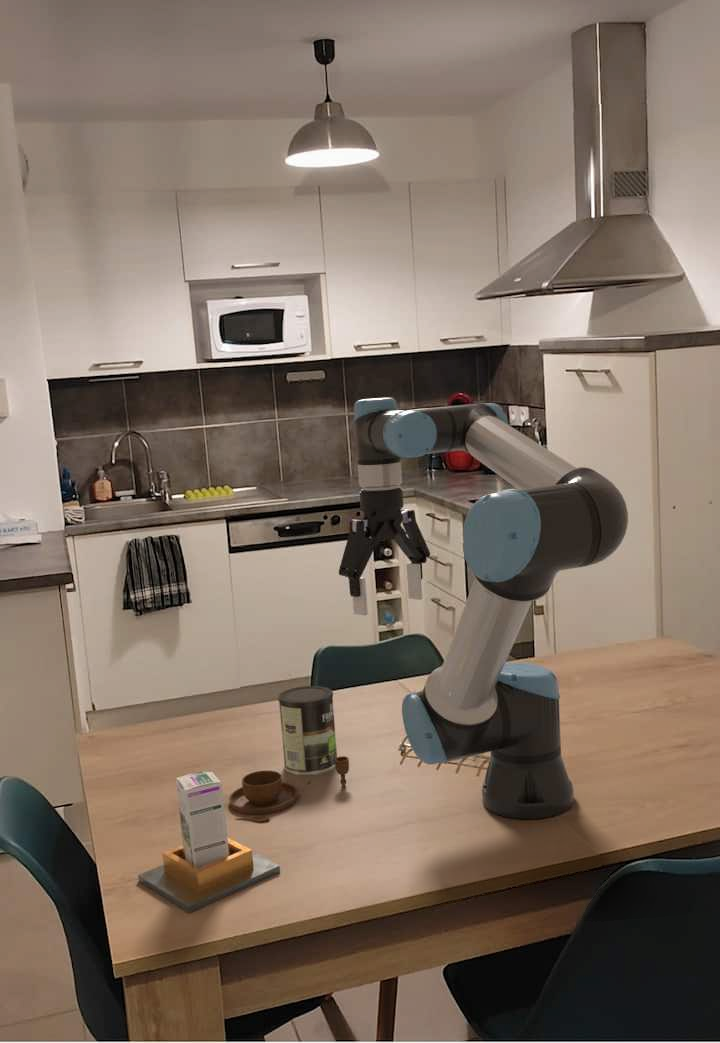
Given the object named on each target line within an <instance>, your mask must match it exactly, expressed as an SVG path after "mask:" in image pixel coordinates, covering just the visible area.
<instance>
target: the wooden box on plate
mask: <svg viewBox="0 0 720 1043" xmlns="http://www.w3.org/2000/svg"><path fill="white" fill-rule="evenodd" d="M227 838H228V847H229V856H228V857H225V858H223V859H221V860H218V861H216V862H214V863H211V864H209V865H207V866H204V867H202V868H200V869H199V868H198V867H196V866H194V865H192V864H191V863H189V862H187V861H185V856H184V847H183V844H182V845H179V846H177V847H174V848H172V849H169V850H166V851H164V852H162V854H161V855H162V862H163V864H161V865H159V866H156V867H154V868H152V869H149V870H147V871H145V872H142V873H139V874H138V876H137V877H138V878H137V879H138V882H139V883H141V884H142V885H144V886H146V887H147V888H149V889H150V890H152V891H153V892H155V893H156V894H158V895H159V896H162V898H165V899H166V900H168V901H169V902H171V903H173V904H174V905H176V906H177V907H179V908H180V909H182V910H183V911H185V912H186V913H188V914H190V913H192V912H195V911H197V910H200V909H201V908H203V907H206V906H208V905H210V904H212V903H215V902H216V901H219V900H222V899H223V898H226V897H228V896H231V895H232V894H235V893H237V892H239V891H242V890H243V889H245V888H248V887H251V886H252V885H255V884H256V883H259V882H262V881H263V880H266V879H268V878H271V877H272V876H274V875H277V874H279V873H281V867H280V865H279V864H277V863H275V862H273V861H271V860H269V859H267V858H265V857H264V856H262V855H260V854H258V853H256V852H253V850H252V849H251V848H249V847H247V846H245V845H243V844H241V843H239V842H237V841H236V840H234V839H232V838H229V837H228V836H227Z"/></svg>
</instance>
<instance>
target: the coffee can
mask: <svg viewBox="0 0 720 1043" xmlns="http://www.w3.org/2000/svg"><path fill="white" fill-rule="evenodd" d="M333 696H334V692H333V690H332V689H330V688H329V687H326V686H319V685H308V686H307V685H305V686H297V687H292V688H289V689H286V690H284V691H282V692H280V693H279V694H278V696H277V700H278V703H279V713H280V714H279V717H280V728H281V740H282V749H283V760H284V761H283V762H284V763H283V764H284V765H283V767H284V770H285V772H287V773H289V774H292V775H297V776H314V775H315V776H316V775H320V774H321V775H322V774H324V773H327V772H329V771H330V772H331V771H332V770H334V769H336V767H335V758H337V757H338V753H337V738H336V727H335V725H336V724H335V711H334V699H333Z"/></svg>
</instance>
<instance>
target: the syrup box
mask: <svg viewBox="0 0 720 1043" xmlns="http://www.w3.org/2000/svg"><path fill="white" fill-rule="evenodd" d="M175 779H176V780H175V782H176V792H177V801H178V809H179V810H178V811H179V819H180V826H181V827H180V828H181V838H182V845H183V847H184V856H185V861H187V862H189V863H191V864H192V865H194V866H196V867H198V868H199V869H200V868H202V867H204V866H207V865H209V864H211V863H214V862H216V861H218V860H221V859H223V858H225V857H228V856H229V847H228V838H229V837H228V830H227V822H226V812H225V805H224V796H223V788H222V786H223V785H222V781H221V780H220V779H218V777H217V776H216V774H214V773H213V771H212V770H209V769H208V770H202V771H197V772H193V773H192V772H191V773H188V774H186V775H181V776H178V777H176V778H175ZM227 837H228V838H227Z"/></svg>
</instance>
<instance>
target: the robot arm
mask: <svg viewBox="0 0 720 1043" xmlns="http://www.w3.org/2000/svg"><path fill="white" fill-rule="evenodd" d="M353 408H354V409H353V410H354V411H353V412H354V414H353V416H354V417H353V418H354V419H353V425H354V430H355V431H354V433H355V446H356V457H357V458H356V459H357V472H358V473H357V474H358V486H359V487H361V488H362V489H360V491H359V502H360V505H359V506H360V510H361V511H362V512H363V519H354V518H353V519H350V521H349V529H348V530H349V532H348V537H347V540H346V545H345V547H344V551H343V555H342V559H341V560H340V562H341V563H340V566H339V569H338V575H339V576H341V577H345V578H348V583H349V584H348V586H349V594H350V596H351V597H352V604H353V614H354V615H359V616H368V615H369V613H368V601H367V588H366V586H367V585H366V577H362V575H363V573H364V571H365V569H366V566H367V565H368V563H369V561H370V559H371V556H372V555H373V552H374V551H375V548H376V546H379V545H380V542H381V543H382V542H386V541H387V540H393V541H394V542H395V543H396V545H397V546H398V547H399V549H400V550H401V551H402V552H403V554H404V555H405V556H406V557H407V559H408V560H409V561H410V562H406V575H407V576H406V577H407V578H406V579H407V593H408V599H411V600H417V601H421V600H423V589H422V580H423V578H424V576H423V564H426V563H427V559H428V558H430V556H431V552H430V551H431V550H430V549H429V547H428V545H427V543H426V541H425V538H424V536H423V534H422V531H421V529H420V527H419V524H418V522H417V520H416V513H415V512H416V511H415V510H414V509H407V508H406V509H405V508H404V509H403V507H404V494H403V493H404V492H403V488H402V487H401V486H400V485H401V484H402V483H403V475H402V463H401V462H402V461H401V458H404V459H409V458H418V457H419V458H420V457H422V456H425V455H427V454H428V455H429V454H436V453H437V454H438V453H445V452H448V453H449V452H457V451H464V452H466V453H467V454H468V455H470V456H472V457H473V458H475V459H476V460H477V461H479V462H480V463H481V464H483V465H484V466H485V467H487V468H488V469H490V470H491V471H492V472H494V473H495V474H496V475H498V476H499V477H501V478H502V479H504V480H505V481H506V482H507V483H509V484H511V485H512V486H513V487H514V488H508V489H503V490H500V491H498V492H494V493H488V494H485V495H484V496H481V497H480V498H479V499H477V500H476V501H475V502H474V504H472V506H471V507H470V509H469V510H468V512H467V514H466V517H465V520H464V524H463V527H462V536H463V537H464V540H463V542H462V552H463V555H464V558H465V559H464V560H465V562H466V564H467V566H468V568H469V570H470V572H471V574H472V576H473V578H474V580H473V583H472V586H471V589H470V591H469V594H468V596H467V599H466V602H465V604H464V607H463V609H462V612H461V615H460V617H459V621H458V623H457V625H456V628H455V631H454V634H453V636H452V639H451V642H450V644H449V647H448V650H447V651H446V652H447V653H446V656H445V658H444V661H443V663H442V665H441V666H439V667H436V668H435V669H434V670H433V671H432V672H431V673H430V674H429V675H428V677H427V679H426V682H425V683H424V687H423V689H422V690H420V691H412V692H410V693H408V694H406V695H405V696H404V697H403V700H402V702H401V715H402V721H403V727H404V731H405V734H406V737H407V739H408V742H409V745H410V747H411V749H412V751H413V753H414V754H415V756H416V757H417V758H418V759H419V760H420V761H421V762H423V763H424V764H426V765H431V766H432V765H436V764H438V765H439V764H447V763H449V762H450V763H451V762H452V761H453V762H454V761H457V760H461V759H465V758H466V759H467V758H470V757H474V756H478V755H481V754H486V753H488V752H490V757H489V763H488V766H487V770H486V773H485V777H484V782H483V783H482V788H481V793H482V794H481V795H482V799H481V800H482V804H483V805H484V807H485V808H486V809H487V810H489V811H490V812H492V813H493V814H496V815H499V816H502V817H506V818H511V819H519V820H537V819H544V818H545V819H547V818H550V817H554V816H557V815H560V814H562V813H564V812H567V811H568V810H569V809H571V807H572V806H573V804H574V802H575V801H574V800H575V797H574V796H575V795H574V793H575V792H574V787H573V783H572V781H571V780H570V779H569V776H568V775H569V774H568V772H567V768H566V766H565V763H564V759H563V756H562V744H561V743H562V742H561V741H562V740H561V739H562V738H561V720H560V719H561V716H560V715H561V714H560V699H561V695H560V691H559V690H560V689H559V683H558V678H557V676H556V673H555V672H553V671H552V670H550V669H549V668H547V667H545V666H541V665H537V664H533V663H526V662H515V661H507V659H508V658H509V656H510V653H511V650H512V648H513V646H514V644H515V642H516V639H517V636H518V634H519V633H520V630H521V627H522V625H523V623H524V620H525V618H526V616H527V613H528V611H529V609H530V607H531V605H532V602H535V601H539V600H540V599H542V598H543V597H544V596H546V594H547V593H548V592H549V591H550V589H551V587H552V584H553V582H554V580H555V578H556V575H557V574H558V573H559V572H562V571H565V570H570V569H572V570H573V569H577V568H583V567H589V566H592V565H596V564H598V563H600V562H602V561H604V560H607V558H609V557H610V556H611V555H613V554H614V553H615V551H616V550H617V549H618V548H619V547H620V546H621V544H622V542H623V540H624V538H625V536H626V533H627V529H628V524H629V513H628V509H627V504H626V501H625V499H624V497H623V495H622V492H621V491H620V490H619V489H618V487H616V485H615V484H614V483H613V482H612V481H610V479H608V478H606V477H605V476H604V475H602V474H600V473H599V472H597V471H595V469H592V468H590V467H583V466H581V467H576V466H574V465H573V464H571V463H569V462H568V461H566V460H565V459H563V458H562V457H560V456H558V455H557V454H555V453H554V452H552V451H550V450H549V449H547V448H546V447H544V446H543V445H541V444H540V443H537V442H536V441H535V440H533V439H532V438H530V437H528V436H526V435H525V434H524V433H522V432H520V431H519V430H517V429H516V428H514V427H512V426H511V425H509V421H508V416H507V414H506V413H505V412H504V410H503V407H501V406H500V405H499V404H498V403H494V402H486V403H485V402H474V403H470V404H468V403H467V404H460V405H450V406H449V405H448V406H439V407H428V408H426V407H424V408H415V409H403V410H399V409H398V403H397V400H396V399H395V398H394V397H376V398H375V397H374V398H364V399H359V400H357V401H356V402H355V403H354V406H353ZM402 526H403V527H402Z"/></svg>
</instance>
